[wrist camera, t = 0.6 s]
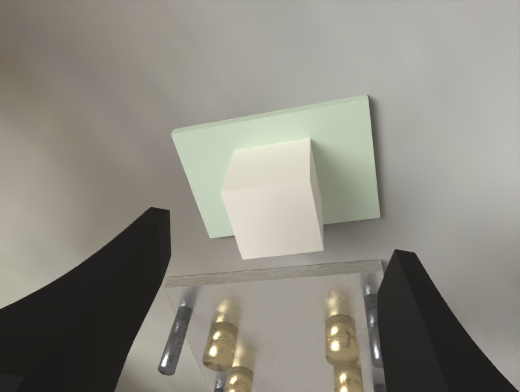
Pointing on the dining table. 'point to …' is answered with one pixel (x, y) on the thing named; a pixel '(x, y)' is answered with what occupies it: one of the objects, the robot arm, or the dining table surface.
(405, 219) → the dining table surface
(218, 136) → the sage board
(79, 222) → the dining table surface
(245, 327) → the plate
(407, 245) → the dining table surface
